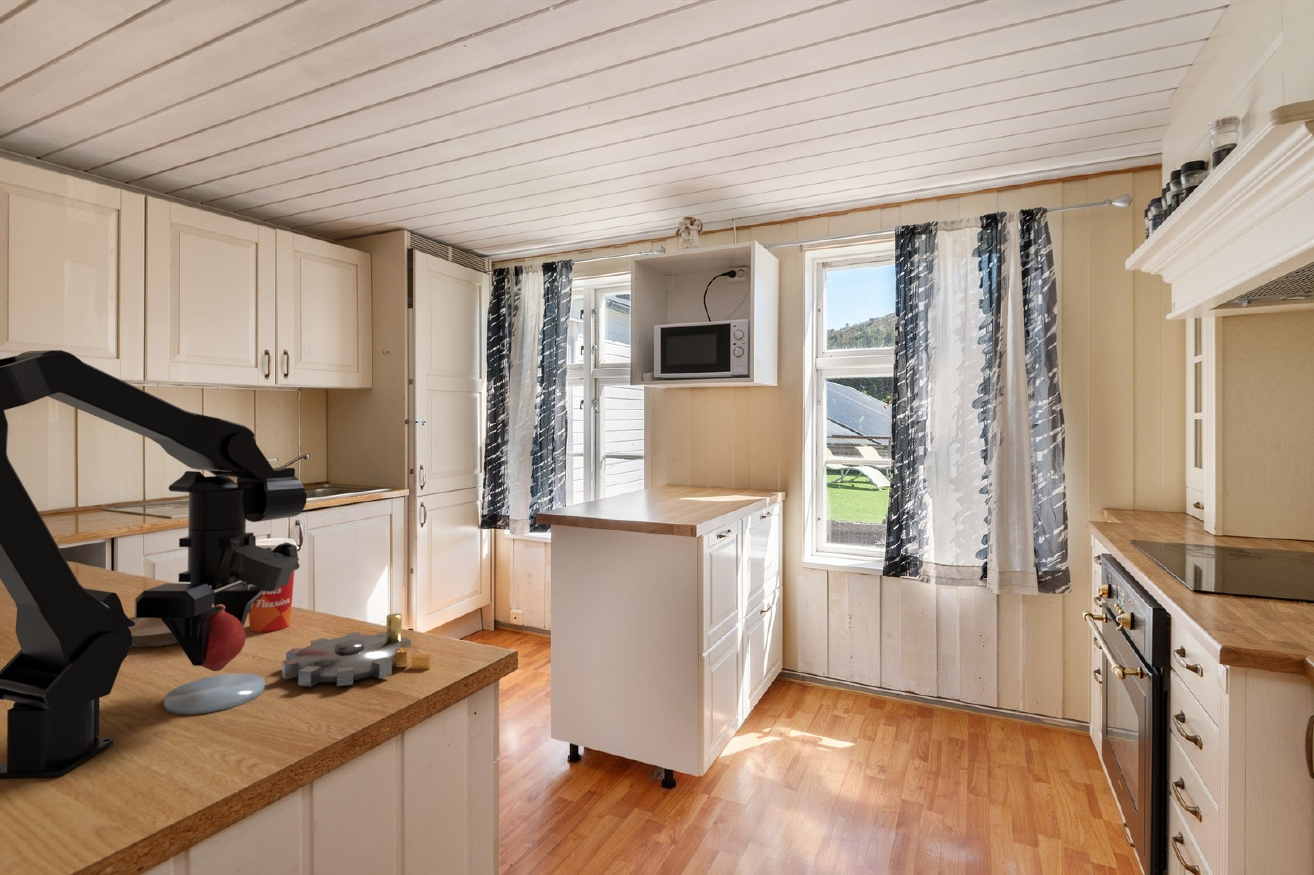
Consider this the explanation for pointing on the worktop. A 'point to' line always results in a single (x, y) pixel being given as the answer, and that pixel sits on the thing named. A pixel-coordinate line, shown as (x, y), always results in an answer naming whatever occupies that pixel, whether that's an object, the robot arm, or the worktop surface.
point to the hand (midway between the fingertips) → (215, 656)
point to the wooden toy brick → (422, 661)
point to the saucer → (151, 633)
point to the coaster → (214, 693)
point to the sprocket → (349, 656)
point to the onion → (224, 640)
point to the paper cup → (272, 599)
